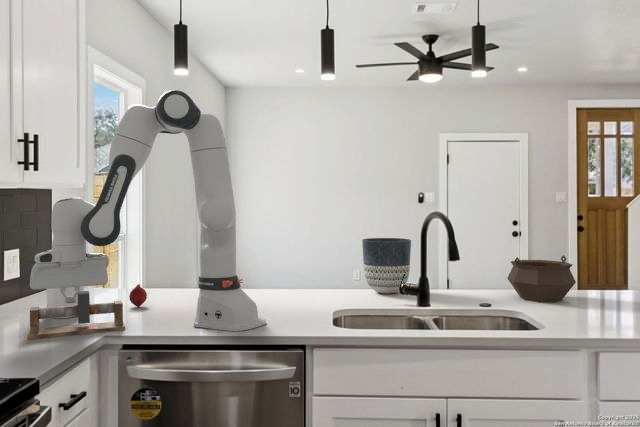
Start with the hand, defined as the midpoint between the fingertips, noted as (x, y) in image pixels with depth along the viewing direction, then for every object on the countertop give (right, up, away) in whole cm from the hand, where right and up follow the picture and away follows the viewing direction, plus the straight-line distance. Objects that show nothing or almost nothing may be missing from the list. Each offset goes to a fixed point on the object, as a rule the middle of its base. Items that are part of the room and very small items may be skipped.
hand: (70, 302), depth 156 cm
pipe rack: (+2, -8, +1) cm, 9 cm away
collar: (+3, -5, +2) cm, 7 cm away
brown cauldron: (+154, -7, +50) cm, 162 cm away
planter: (+98, -7, +64) cm, 117 cm away
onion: (+7, -8, +36) cm, 38 cm away
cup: (-12, -8, +23) cm, 27 cm away
